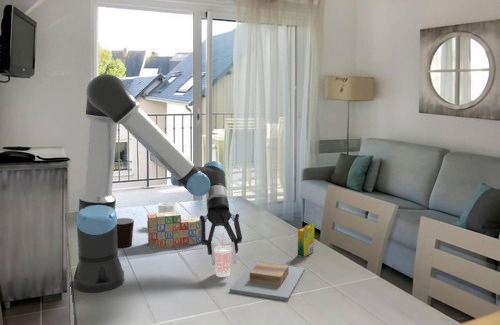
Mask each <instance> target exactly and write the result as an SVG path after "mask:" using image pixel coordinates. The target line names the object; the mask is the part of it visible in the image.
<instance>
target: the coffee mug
mask: <svg viewBox="0 0 500 325" xmlns="http://www.w3.org/2000/svg"><path fill="white" fill-rule="evenodd" d="M134 223H135V220H134V218H130V217H119V218H118V217H117V245H118V250H119V249H122V250H123V249H128V248H132V246H133V235H134Z"/></svg>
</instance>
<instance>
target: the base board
mask: <svg viewBox="0 0 500 325" xmlns="http://www.w3.org/2000/svg"><path fill="white" fill-rule="evenodd" d="M258 262H259V261H258ZM258 262H257V261H252V263H251V265H250V266H248V267H247V269H246V270H245V271H244V272H243V273H242V274H241V275H240V277H239V278H238V279H237V280H236V281H235V282H234V283H233V285H232V286H231V287H230V288H229V292H230V293H234V294H241V295H248V296H252V297H253V296H254V297H260V298H266V299H272V300H273V299H274V300H279V301H286V302H289V300H290V298H291V297H292V295H293V293H294V291H295V289H296V288H297V285H298V284H299V283H300V281H301V279H302V277H303V275H304V273H305V268H304V267H298V266H289V267H288V276H287V277H286V279H285V280H284V282H283V283H282V285H281V286H275V285H268V284H261V283H254V282H250V272H251V271H252V269H253V268H254V267H255V266H256V265H257V264H258Z"/></svg>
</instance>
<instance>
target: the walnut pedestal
mask: <svg viewBox="0 0 500 325" xmlns="http://www.w3.org/2000/svg"><path fill="white" fill-rule="evenodd" d="M288 267H289V265H287V264H280V263H271V262H265V261H263V262H262V261H258V264H257V265H256V266H255V267H254V268H253V269H252V271H251V272H250V282H254V283H261V284H268V285H275V286H281V285H282V283H283V282H284V280H285V279H286V277H287V276H288Z"/></svg>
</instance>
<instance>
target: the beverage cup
mask: <svg viewBox="0 0 500 325" xmlns="http://www.w3.org/2000/svg"><path fill="white" fill-rule="evenodd" d="M214 252H215V265H214V267H215V268H214V269H215V276H216V277H218V278H226V277H229V276H230V274H231V273H230V272H231V260H232V247H231V245H230V246H229V245H224V232H223V233H222V234H221V244H219V245H216V246H214Z"/></svg>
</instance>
